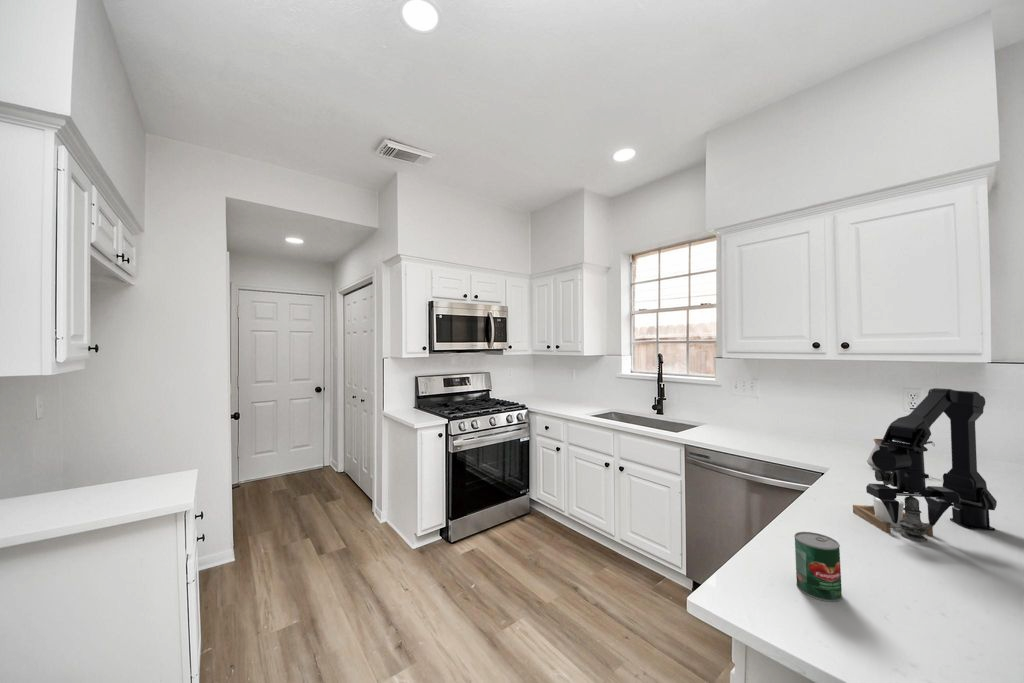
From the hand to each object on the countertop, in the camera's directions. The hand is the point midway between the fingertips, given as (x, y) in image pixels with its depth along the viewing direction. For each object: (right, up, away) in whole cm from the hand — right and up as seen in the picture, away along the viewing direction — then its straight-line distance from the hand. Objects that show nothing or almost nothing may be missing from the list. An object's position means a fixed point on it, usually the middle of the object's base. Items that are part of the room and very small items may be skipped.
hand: (913, 524), depth 109 cm
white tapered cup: (+2, -4, +9) cm, 10 cm away
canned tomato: (-45, -4, -24) cm, 51 cm away
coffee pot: (+54, -5, +57) cm, 79 cm away
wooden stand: (+2, -4, +8) cm, 9 cm away
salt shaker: (0, -4, 0) cm, 4 cm away
